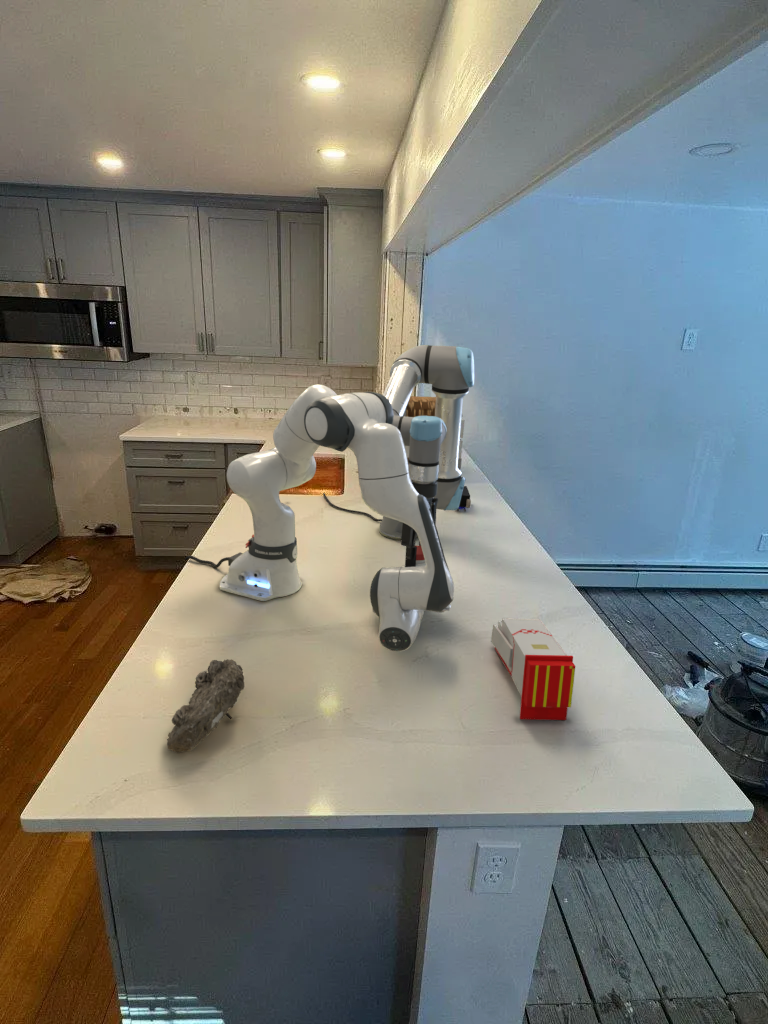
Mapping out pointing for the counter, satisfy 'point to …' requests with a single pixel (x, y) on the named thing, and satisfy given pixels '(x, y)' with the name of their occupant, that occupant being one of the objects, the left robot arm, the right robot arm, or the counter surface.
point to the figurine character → (465, 499)
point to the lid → (419, 554)
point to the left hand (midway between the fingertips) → (415, 581)
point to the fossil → (206, 705)
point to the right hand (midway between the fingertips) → (416, 564)
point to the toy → (535, 667)
